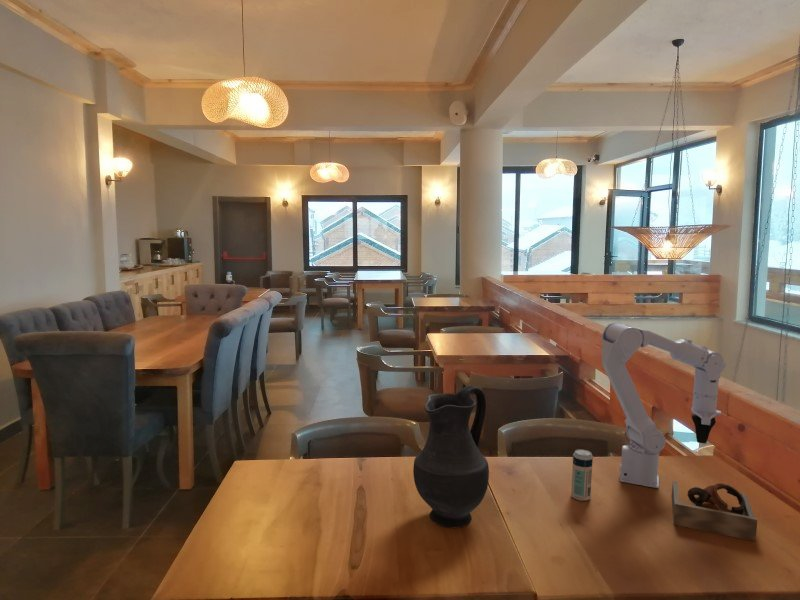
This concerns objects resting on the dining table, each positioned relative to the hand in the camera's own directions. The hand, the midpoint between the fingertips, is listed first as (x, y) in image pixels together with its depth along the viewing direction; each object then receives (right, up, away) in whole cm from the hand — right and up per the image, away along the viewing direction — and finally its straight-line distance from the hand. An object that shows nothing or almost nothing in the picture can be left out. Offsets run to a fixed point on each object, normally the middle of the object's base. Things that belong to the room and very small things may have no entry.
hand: (701, 442), depth 148 cm
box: (-8, -13, -19) cm, 24 cm away
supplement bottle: (-36, -12, -10) cm, 40 cm away
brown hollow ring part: (-7, -13, -17) cm, 22 cm away
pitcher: (-69, -12, -19) cm, 73 cm away
